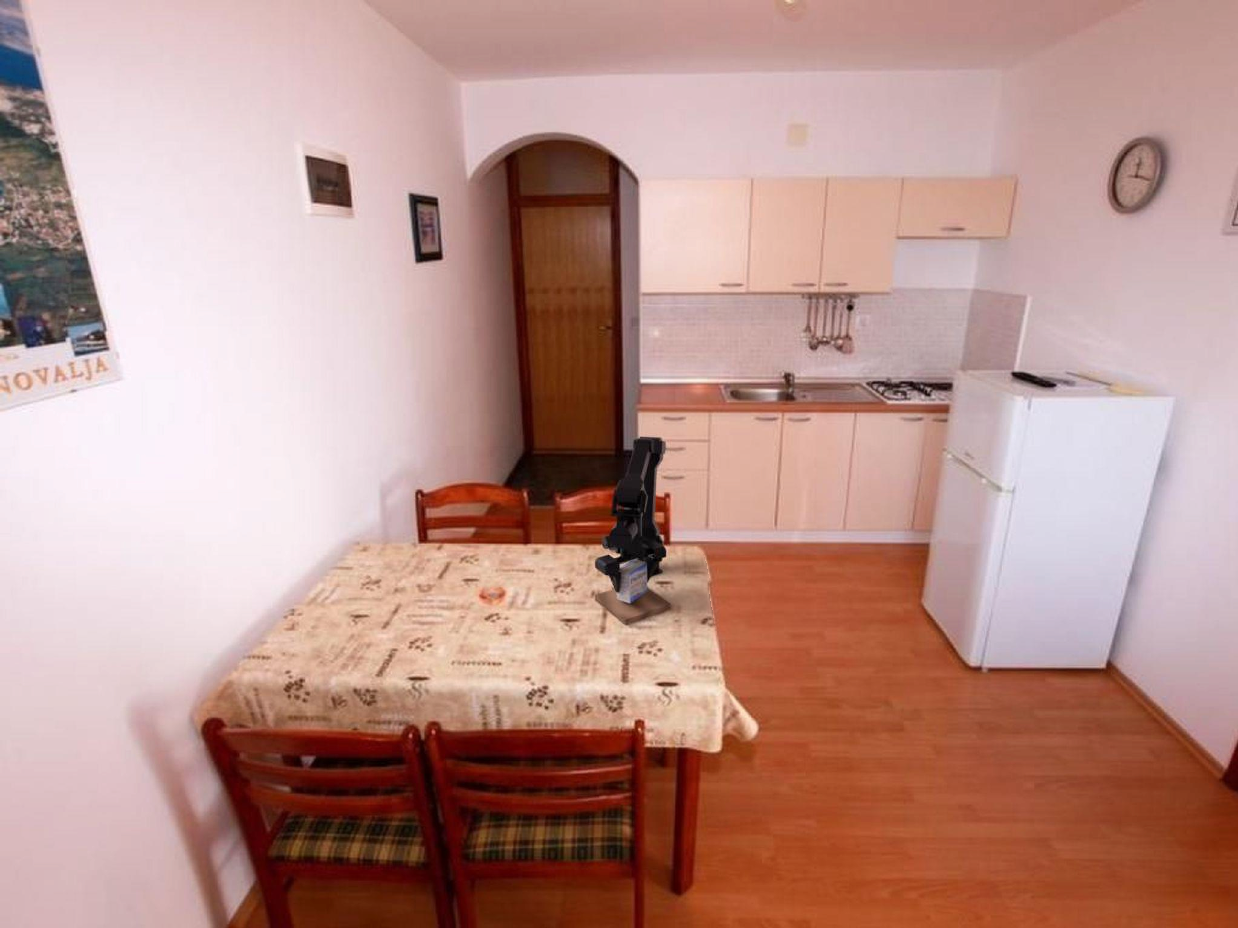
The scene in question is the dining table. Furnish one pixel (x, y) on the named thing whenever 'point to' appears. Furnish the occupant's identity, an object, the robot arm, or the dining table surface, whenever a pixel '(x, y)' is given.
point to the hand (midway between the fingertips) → (631, 586)
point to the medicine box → (632, 581)
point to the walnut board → (632, 606)
